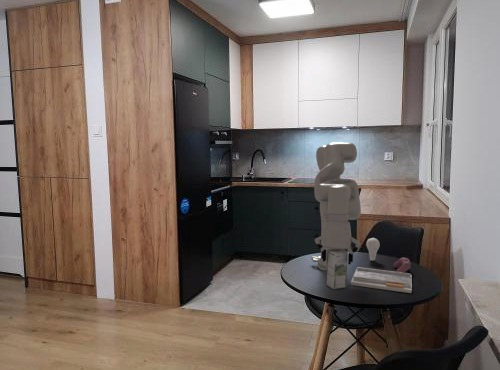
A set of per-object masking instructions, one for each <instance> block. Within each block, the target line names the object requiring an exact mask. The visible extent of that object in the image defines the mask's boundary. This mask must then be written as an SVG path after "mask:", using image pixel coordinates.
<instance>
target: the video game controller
mask: <svg viewBox="0 0 500 370" xmlns="http://www.w3.org/2000/svg"><path fill="white" fill-rule="evenodd" d="M411 264H412V263H411V260H410V259H409V258H408V257H400V258H399V259H398V260H396V261H395V262H393V265H392V266H393V268H394V269H395V268H397V269H396V272H403V273H407V271H408V270H410V269H411V268H412V267H411Z"/></svg>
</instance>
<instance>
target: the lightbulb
mask: <svg viewBox="0 0 500 370" xmlns="http://www.w3.org/2000/svg"><path fill="white" fill-rule="evenodd" d="M380 243H381V242H380V241H379V240H378V239H377V238H375V237H371V238H368V239H367V240H366V243H365V245H366V248H367V250H368V255H369V260H370V261H372V262H374V261H375V260H376V256H377V253H378V250H379V248H380V245H381V244H380Z"/></svg>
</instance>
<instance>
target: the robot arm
mask: <svg viewBox="0 0 500 370" xmlns="http://www.w3.org/2000/svg"><path fill="white" fill-rule="evenodd" d="M357 156H358V149H357V146H356V145H355V143H353V142H330V143H328V144H326V145H321V146H319V147H318V148H317V149H316V154H315V157H316V159H315V160H316V164H317V167H318V169H319V172H318V173H317V174H316V176H315V178H314V183H313V184H314V187H313V189H314V193H313V194H314V198H315V200H316V201H317V202H319V213H320V220H321V224H320V225H321V234H320V236H318V237H316V238H314V242H315V244H316V246H317V247H318V249H319V250H320V256H316V255H314V256H313V255H312V256H311V261H312V262H315V263H317V264H316V267H317V268H318V269H319V270H321V271H324V272H326V269H327V250H328V249H343V250H347V252H348V255H347V265H351V264H352V263H353V261H354V253H355V252H357V250H358V249H359V248H360V246H361V245H362V243H361V242H360V241H359V240H358V239H355V237H352V231H351V223H350V221H353V220H354V221H355V220H358V219H359V218H360V217H361V214H362V213H361V212H362V210H361V209H362V207H361V198H360V190H359V185H358V183H357V182H356V180H354V179H347V178H346V179H345V178H341V176H342V175H343V174H344V172H345V170H346V168H345V164H349V163H354V162H355V161H356V160H357ZM349 220H350V221H349ZM352 243H353V244H355V246H354V247H352Z"/></svg>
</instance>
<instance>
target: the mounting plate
mask: <svg viewBox="0 0 500 370" xmlns="http://www.w3.org/2000/svg"><path fill="white" fill-rule="evenodd" d="M356 271H357V268H356V269H355V272H354V273H353V276H355V273H356ZM394 272H396V271H394ZM412 276H413V275H412V274H410V287H404V286H403V285H400V284H392V283H386V284H381V283H374V282H366V281H359V280H353V277H352V279H351V280H350V285H351V286H355V287H364V288H365V287H366V288H372V289H378V290H379V289H380V290H386V291H392V292H393V291H394V292H400V293H406V294H407V293H408V294H412V291H413V289H412V288H413V283H412V279H413V278H412Z"/></svg>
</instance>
